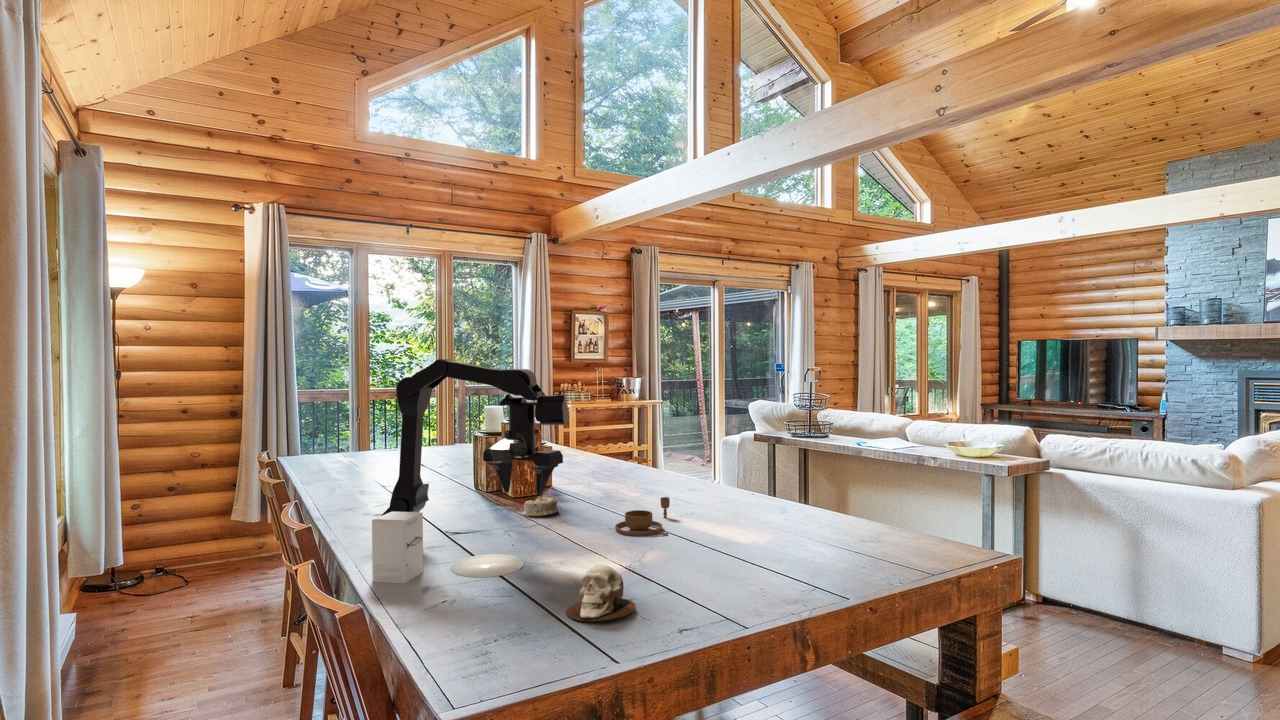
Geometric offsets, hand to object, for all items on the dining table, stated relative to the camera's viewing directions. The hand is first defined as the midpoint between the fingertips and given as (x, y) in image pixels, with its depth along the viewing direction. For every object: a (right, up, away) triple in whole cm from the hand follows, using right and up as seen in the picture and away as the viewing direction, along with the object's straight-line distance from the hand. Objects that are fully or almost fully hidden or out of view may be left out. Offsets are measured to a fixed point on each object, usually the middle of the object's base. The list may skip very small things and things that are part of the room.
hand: (522, 494), depth 158 cm
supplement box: (-22, -14, -17) cm, 31 cm away
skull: (+23, -15, -38) cm, 47 cm away
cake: (-1, -13, +38) cm, 40 cm away
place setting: (+29, -13, +21) cm, 38 cm away
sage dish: (-6, -13, -10) cm, 18 cm away
